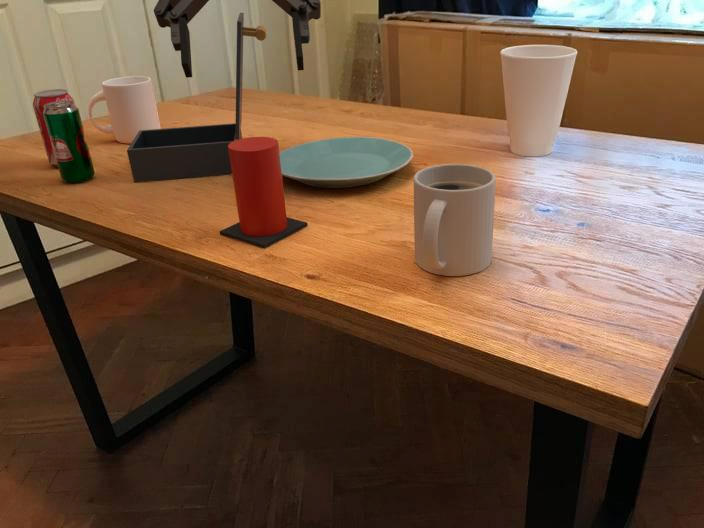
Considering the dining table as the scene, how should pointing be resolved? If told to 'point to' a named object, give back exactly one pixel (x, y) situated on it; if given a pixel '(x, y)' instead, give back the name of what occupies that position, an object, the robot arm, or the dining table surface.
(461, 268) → the mug
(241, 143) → the red cylinder
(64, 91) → the beverage can
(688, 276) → the dining table surface
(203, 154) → the dark grey open box
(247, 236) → the rubber mat
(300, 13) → the robot arm
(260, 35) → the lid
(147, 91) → the mug
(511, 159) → the dining table surface
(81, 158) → the soda can
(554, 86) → the cup
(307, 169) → the plate
